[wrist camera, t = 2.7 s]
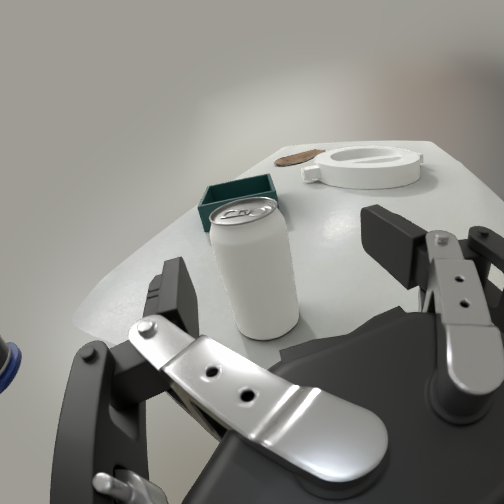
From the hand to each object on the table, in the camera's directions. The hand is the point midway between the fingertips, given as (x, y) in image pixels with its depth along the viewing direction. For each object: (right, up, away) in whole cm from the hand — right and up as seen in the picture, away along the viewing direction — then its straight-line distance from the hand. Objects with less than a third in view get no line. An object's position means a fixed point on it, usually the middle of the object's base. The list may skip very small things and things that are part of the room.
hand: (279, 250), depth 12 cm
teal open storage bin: (-3, +8, +46) cm, 46 cm away
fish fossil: (+17, +33, +84) cm, 92 cm away
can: (+1, -7, +16) cm, 18 cm away
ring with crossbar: (+29, +20, +55) cm, 65 cm away
